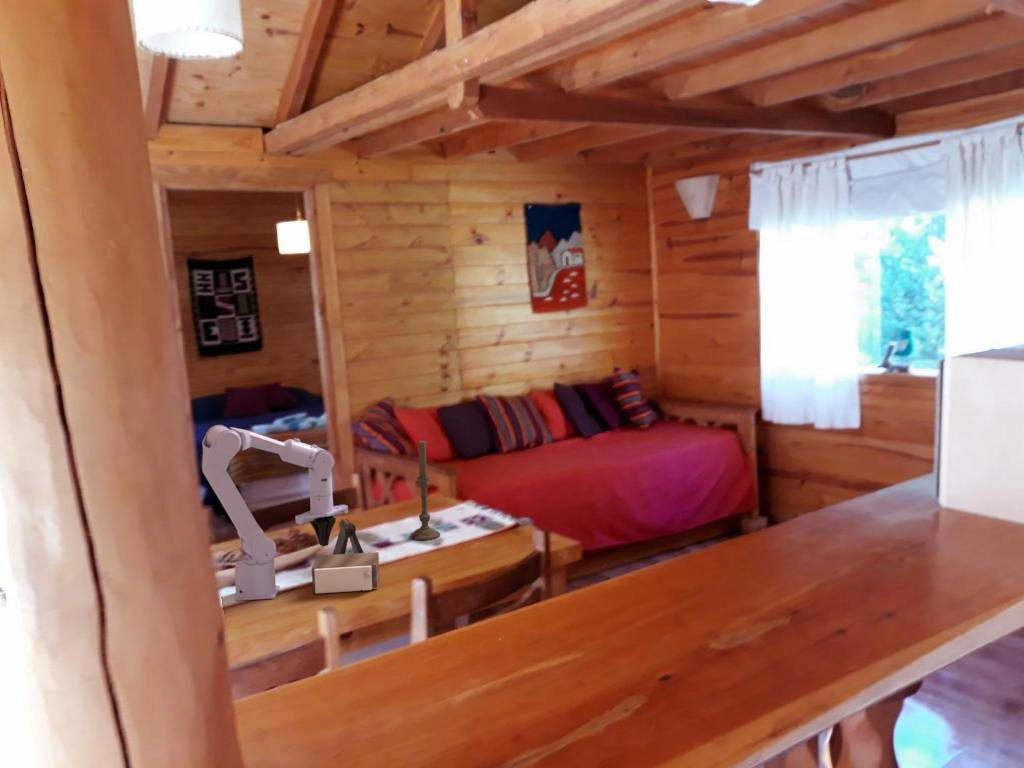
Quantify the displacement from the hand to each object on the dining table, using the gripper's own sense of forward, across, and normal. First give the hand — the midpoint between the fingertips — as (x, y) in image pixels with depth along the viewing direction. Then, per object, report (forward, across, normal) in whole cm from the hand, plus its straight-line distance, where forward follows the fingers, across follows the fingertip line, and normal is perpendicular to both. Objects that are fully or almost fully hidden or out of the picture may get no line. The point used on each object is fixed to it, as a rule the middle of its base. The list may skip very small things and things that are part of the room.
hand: (323, 545), depth 219 cm
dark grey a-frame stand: (+10, +12, +6) cm, 16 cm away
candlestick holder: (+10, +42, +10) cm, 44 cm away
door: (+9, -2, -12) cm, 15 cm away
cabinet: (+9, +2, -7) cm, 12 cm away
